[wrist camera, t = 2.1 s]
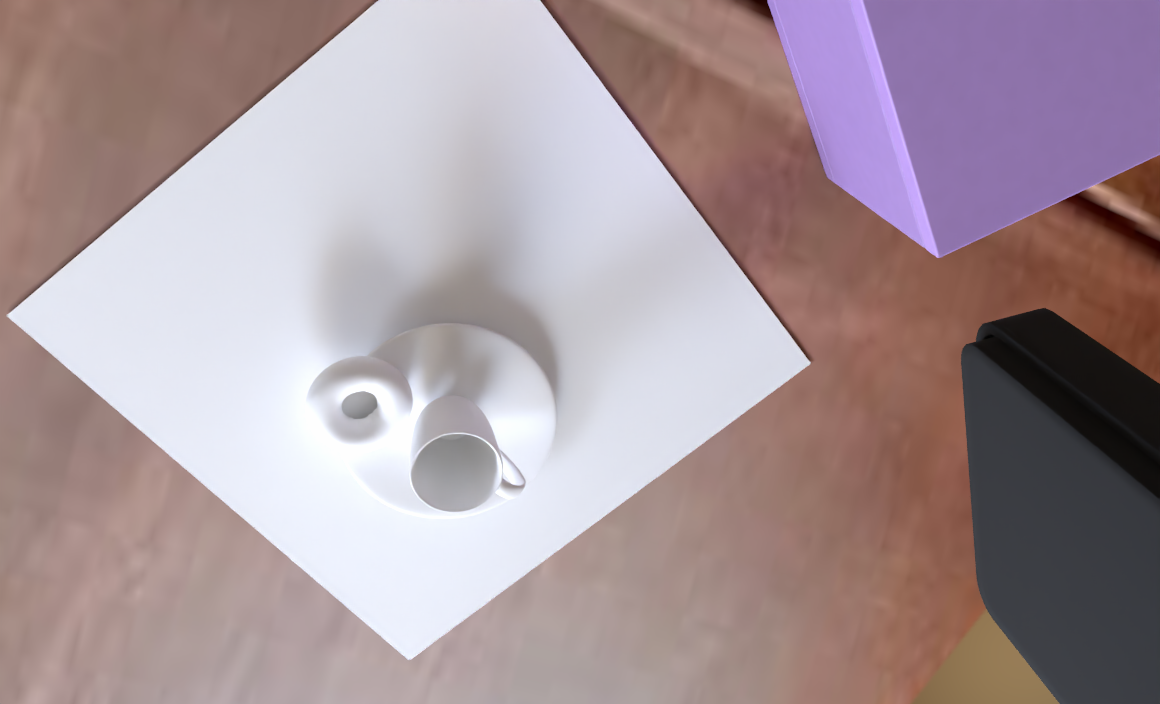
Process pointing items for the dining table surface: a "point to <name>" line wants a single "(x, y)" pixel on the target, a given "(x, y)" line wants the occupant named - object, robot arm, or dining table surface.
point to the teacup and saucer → (420, 312)
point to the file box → (844, 106)
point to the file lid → (1011, 102)
